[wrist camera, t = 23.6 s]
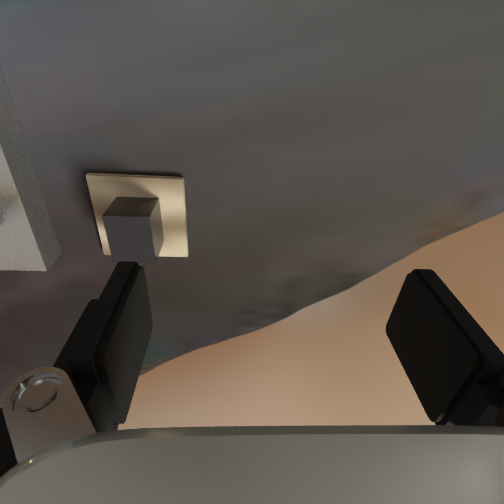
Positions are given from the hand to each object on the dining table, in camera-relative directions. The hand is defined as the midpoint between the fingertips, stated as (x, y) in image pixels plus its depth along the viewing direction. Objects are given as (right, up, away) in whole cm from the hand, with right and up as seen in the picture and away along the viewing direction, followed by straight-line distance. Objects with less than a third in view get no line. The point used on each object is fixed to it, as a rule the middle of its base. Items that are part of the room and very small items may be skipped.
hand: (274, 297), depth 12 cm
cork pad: (-15, +6, +29) cm, 33 cm away
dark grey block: (-15, +6, +29) cm, 33 cm away
